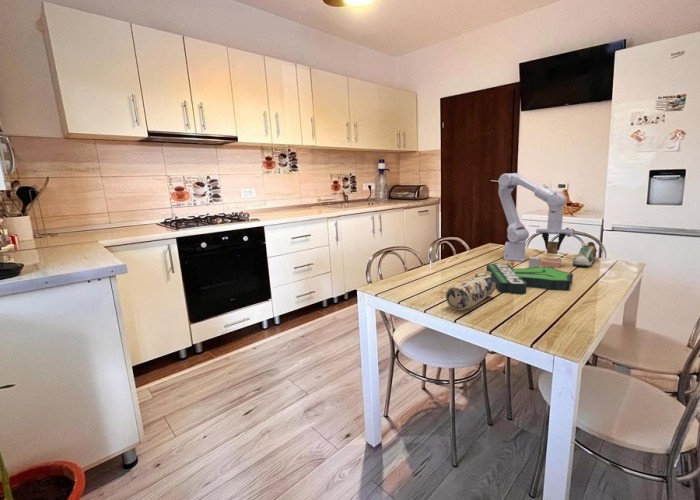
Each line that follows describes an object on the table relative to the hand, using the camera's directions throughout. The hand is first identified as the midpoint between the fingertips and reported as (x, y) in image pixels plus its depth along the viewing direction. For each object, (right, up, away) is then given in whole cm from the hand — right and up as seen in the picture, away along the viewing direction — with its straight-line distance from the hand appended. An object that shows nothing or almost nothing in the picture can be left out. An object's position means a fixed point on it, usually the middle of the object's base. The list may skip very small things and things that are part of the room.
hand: (552, 249), depth 158 cm
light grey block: (-9, -9, -1) cm, 13 cm away
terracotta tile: (0, -8, +2) cm, 8 cm away
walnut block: (0, -2, 0) cm, 2 cm away
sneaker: (+18, -7, +4) cm, 19 cm away
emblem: (-21, -14, -20) cm, 32 cm away
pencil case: (-53, -19, -40) cm, 69 cm away
